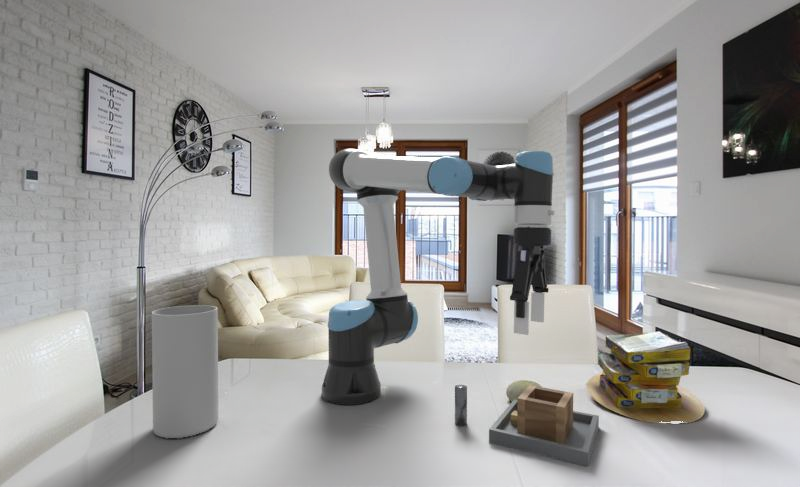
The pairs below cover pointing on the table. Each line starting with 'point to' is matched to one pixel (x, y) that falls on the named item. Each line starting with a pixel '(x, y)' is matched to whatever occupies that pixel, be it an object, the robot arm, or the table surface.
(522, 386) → the sea urchin shell
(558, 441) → the wooden light box
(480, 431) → the table surface
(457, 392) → the grey rounded cylinder
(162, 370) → the cylinder vase
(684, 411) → the stack of yellow boxes
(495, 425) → the tray
